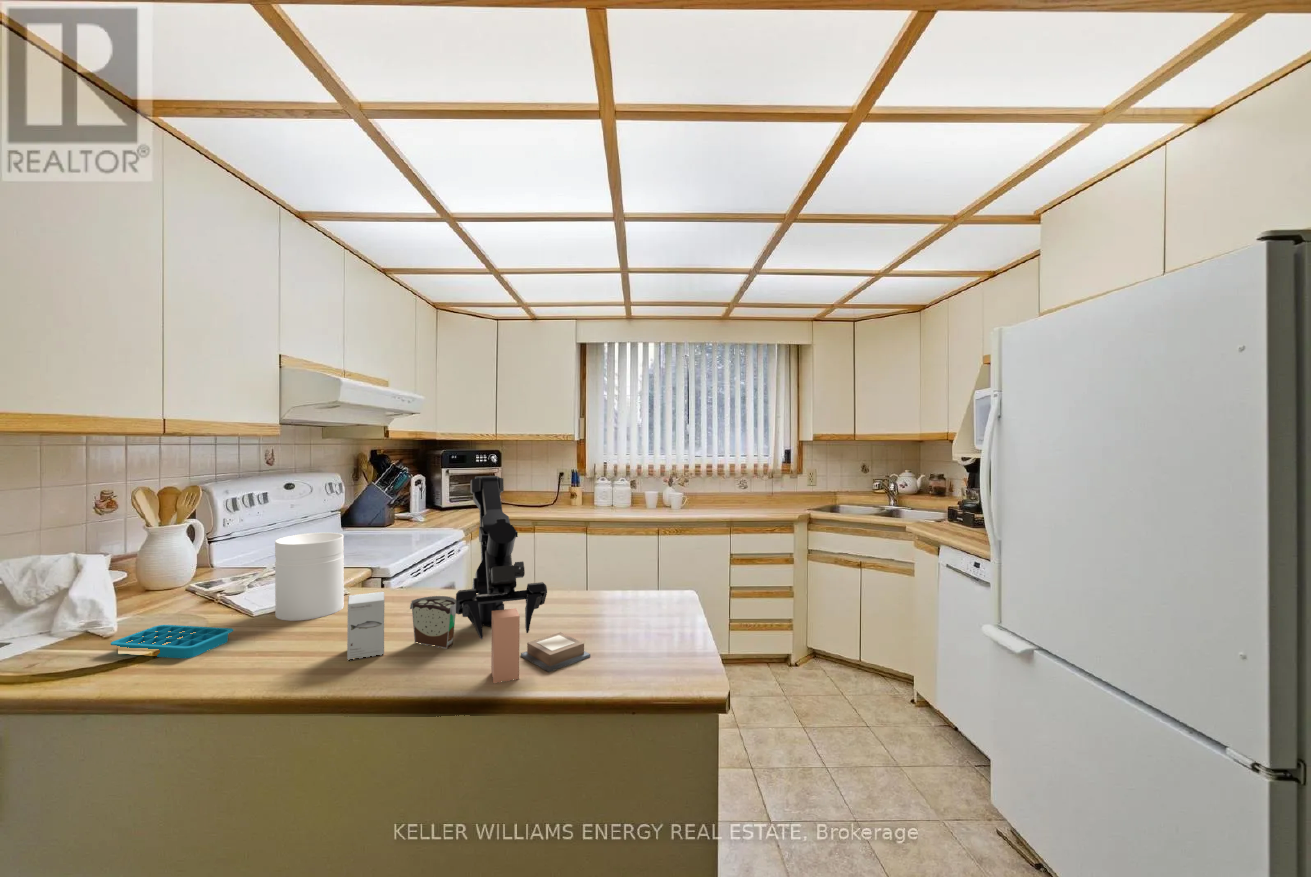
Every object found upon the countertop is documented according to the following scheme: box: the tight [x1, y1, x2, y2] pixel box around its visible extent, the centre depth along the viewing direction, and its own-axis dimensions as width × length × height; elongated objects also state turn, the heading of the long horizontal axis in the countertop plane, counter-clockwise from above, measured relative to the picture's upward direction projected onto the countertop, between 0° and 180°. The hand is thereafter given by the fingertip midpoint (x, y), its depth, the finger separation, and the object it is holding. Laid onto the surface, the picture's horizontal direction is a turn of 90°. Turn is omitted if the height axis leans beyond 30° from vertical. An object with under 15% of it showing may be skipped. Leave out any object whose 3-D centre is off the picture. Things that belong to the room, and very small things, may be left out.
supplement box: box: [346, 591, 385, 661], centre depth 122 cm, size 7×7×13 cm
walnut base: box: [520, 631, 591, 673], centre depth 122 cm, size 11×11×3 cm
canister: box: [274, 532, 345, 622], centre depth 150 cm, size 16×16×20 cm
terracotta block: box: [490, 607, 521, 684], centre depth 112 cm, size 5×5×13 cm
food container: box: [409, 595, 457, 650], centre depth 129 cm, size 12×6×10 cm, turn 71°
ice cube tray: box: [110, 624, 234, 659], centre depth 124 cm, size 12×20×3 cm, turn 84°
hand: (505, 635), depth 112 cm, fingers open, 9 cm apart
